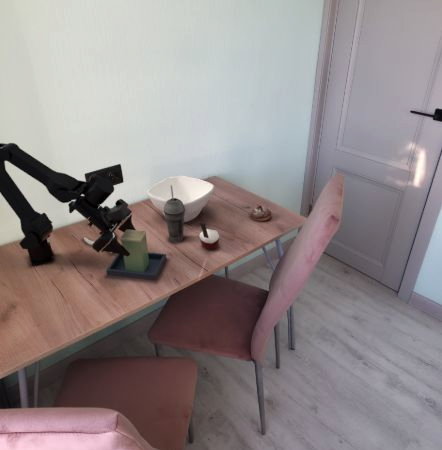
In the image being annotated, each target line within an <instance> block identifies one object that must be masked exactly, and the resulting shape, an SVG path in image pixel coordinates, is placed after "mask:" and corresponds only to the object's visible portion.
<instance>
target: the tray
mask: <svg viewBox="0 0 442 450" xmlns="http://www.w3.org/2000/svg"><path fill="white" fill-rule="evenodd" d="M148 257H149V265H148V267H147V268H146V270H145V272H134V271H126V268H125V262H124V256H123V255H120V254H117V253H116V255H115V257H114V258H113V260H112V262H111V263H110V264H109V266H108V267H107V269H106V275H107V277H116V278H117V277H118V278H127V279H136V280H146V281H147V280H148V281H157V280H158V277H159V275H160V273H161V271H162V269H163V267H164V265H165V263H166V261H167V253H160V252H159V253H158V252H149V251H148Z"/></svg>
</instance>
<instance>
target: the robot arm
mask: <svg viewBox="0 0 442 450" xmlns="http://www.w3.org/2000/svg"><path fill="white" fill-rule="evenodd" d="M5 162H8V163H9V164H11V165H13V166H14V167H15V168H17V169H18V170H20V171H22V172H23V173H25V174H26V175H28V176H29V177H31V178H33V179H34V180H36V181H37V182H39V183H40V184H41V185H42V186H44V187H45V188H46V190H47V192H48V193H49V195H51V196H52V197H53V198H55V200H57V201H58V202H59V203H61V204H66V203H68V204H67V206H68V212H69V214H72V213H73V212H74V211H76V212H77V213H79V214H80V215H81V216H82V217H83V218H85V219H86V220H87V221H88V222H89V223H88V224H87V225H88V226H89V227H92V226H94V227H95V228H96V229H98V230H99V231H100V232H99V233H98V234H99V236H98V237H97V238H96V239H95V240H94V241H95V242H94V243H93V244H92V245H91V246H92V249H93V250H94V251H95V252H97V253H100V252H101V253H103V252H107V253H110V252H112V253H111V254H116V255H117V254H120V255H124V256H129V255H130V253H129V252H128V251H127V250H126V249H125V248H124V247H123V246H122V243H121V242H119V241H118V236H117V235H115V237H114V238H113V233H114V232H115V231H116V230H119V231H120V232H122V233H124V232H125V231H126V229H127V230H137V229H136V228H135V226H134V224H133V221H132V219H133V218H132V217H133V214H132V213H133V211H132V210H131V209H130V208H129V203H127V202H126V201H125V200H124V199H122V198H119V199H117V200H116V201H115V205H113V207H109V206H107V205H104V206H102V204H103V203H105V202H106V200H107V199H108V198H109V197H110V196H111V195H112V194H113V193H114V192H115V186H114V184H113V182H112V181H111V180H110V179H107V178H105V177H103V176H98V175H97V174H94V175H93V176H92V177H91V178H90V179H89V181H85V180H84V181H83V180H79V179H77V178H75V177H73V176H72V175H69V174H67V173H64V172H59V171H56V170H54V169H52V168H51V167H49V166H48V165H46V164H45V163H43V162H41V161H40V160H38V159H37V158H35V157H33V155H31V154H29V153H28V152H26V151H24V150H23V149H22V148H20V147H19V145H18V144H17V143H15V142H8V143H4V142H0V194H1V196H2V198H3V199H4V200H5V202H6V203H7V205H9V207H10V208H11V210H12V211H13V212H14V213H15V215H16V216H17V218H18V219H19V221H20V229H21V232H22V234H23V236H24V237H23V238H22V239H21V240H20V242H19V246H20V247H21V249H22V250H27V254H28V257H29V260H30V265H31V266H36V265H40V264H45V263H49V262H53V260H54V259H53V257H54V252H53V249H52V244H51V242H50V241H48V239H49V238H50V237H51V234H52V233H53V229H54V226H53V221H52V220H51V219H50V218H49V217H48V214H46V212H42V213H40V212H38V211H36V210H35V209H34V207H33V206H32V205H31V203H30V202H29V201H28V199H27V198H26V196H25V195H24V193H23V192H22V191H21V189H20V188H19V186H18V185H17V183H16V182H15V181H14V179H13V178H12V176H11V175H10V174H9V172H8V171H7V168H6V163H5Z"/></svg>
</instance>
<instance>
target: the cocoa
mask: <svg viewBox="0 0 442 450" xmlns="http://www.w3.org/2000/svg"><path fill="white" fill-rule="evenodd" d="M200 228H201V231H200V233H199V239H200V243H201V246H202V247H203V248H204V249H205V250H214V249H216V248H217V247H218V245H219V241H220V235H219V233H218V231H217V230H214V229H211V228H207V227H206V224H205V223H202V222H200Z"/></svg>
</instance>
